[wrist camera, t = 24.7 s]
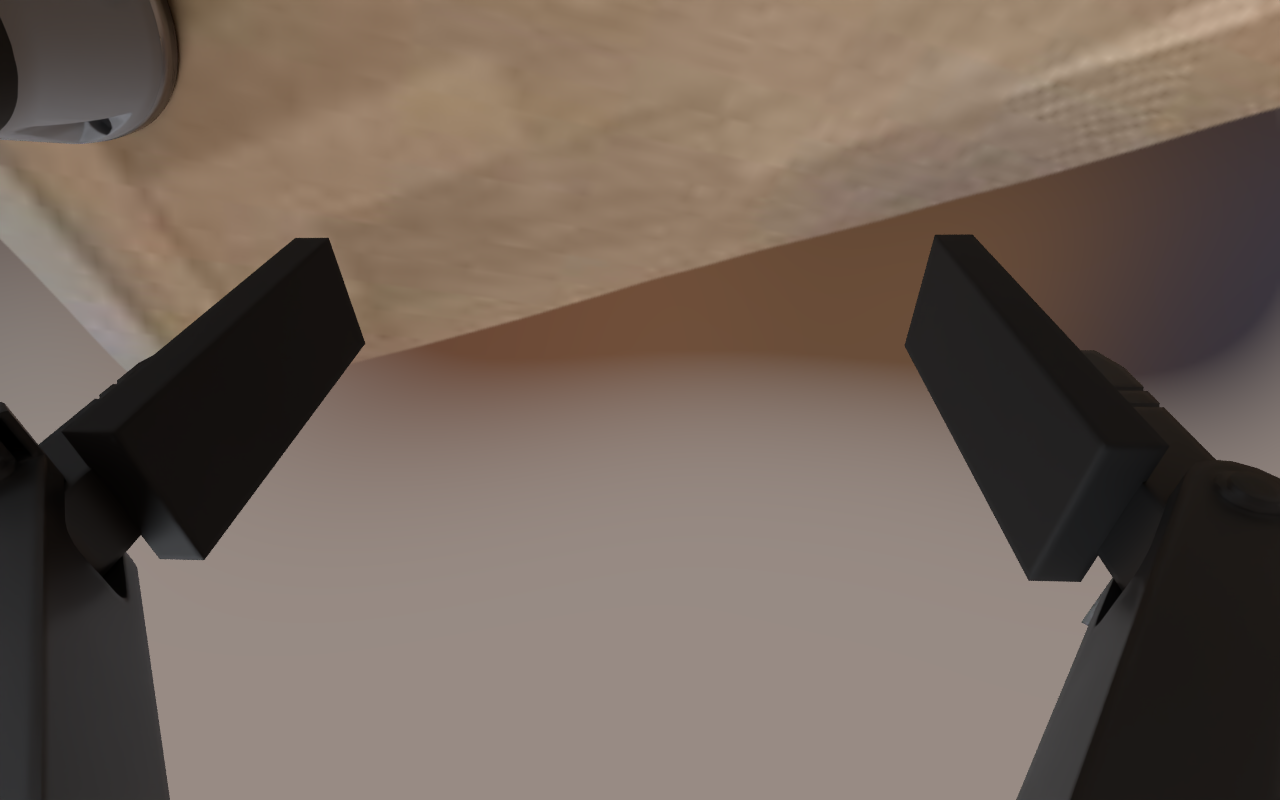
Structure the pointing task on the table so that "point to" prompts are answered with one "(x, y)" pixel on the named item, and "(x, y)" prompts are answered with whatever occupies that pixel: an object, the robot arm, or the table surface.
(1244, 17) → the table surface
